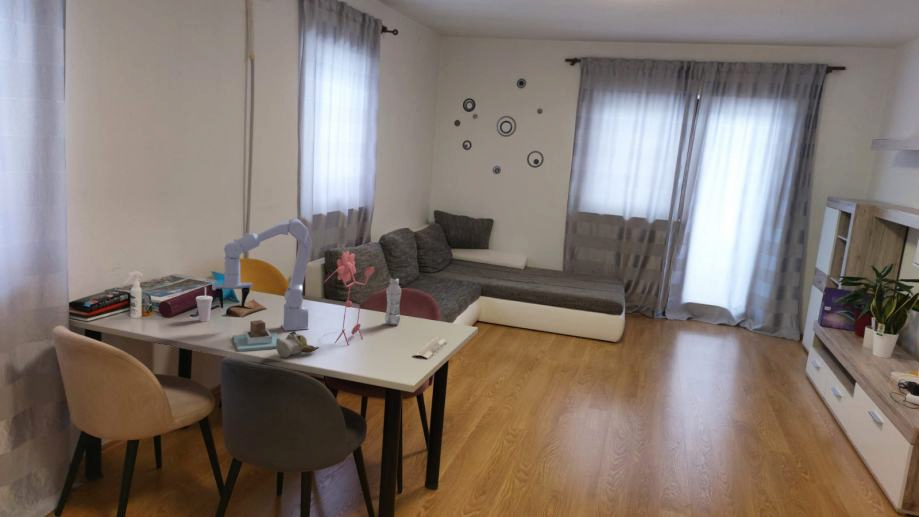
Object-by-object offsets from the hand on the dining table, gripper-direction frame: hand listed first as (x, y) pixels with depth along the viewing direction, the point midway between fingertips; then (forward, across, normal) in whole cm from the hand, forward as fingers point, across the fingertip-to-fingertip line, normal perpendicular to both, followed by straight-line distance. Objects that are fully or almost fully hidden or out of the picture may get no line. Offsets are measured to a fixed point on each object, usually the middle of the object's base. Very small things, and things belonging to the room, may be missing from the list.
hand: (232, 307), depth 245 cm
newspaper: (+10, -68, +41) cm, 80 cm away
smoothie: (+10, +9, -16) cm, 21 cm away
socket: (+9, -7, +18) cm, 21 cm away
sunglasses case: (+10, -9, -26) cm, 29 cm away
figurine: (+10, -38, +21) cm, 44 cm away
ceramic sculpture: (+10, -17, +33) cm, 39 cm away
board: (+9, -7, +18) cm, 21 cm away
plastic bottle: (+10, -64, +7) cm, 65 cm away
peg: (+8, -7, +18) cm, 21 cm away
